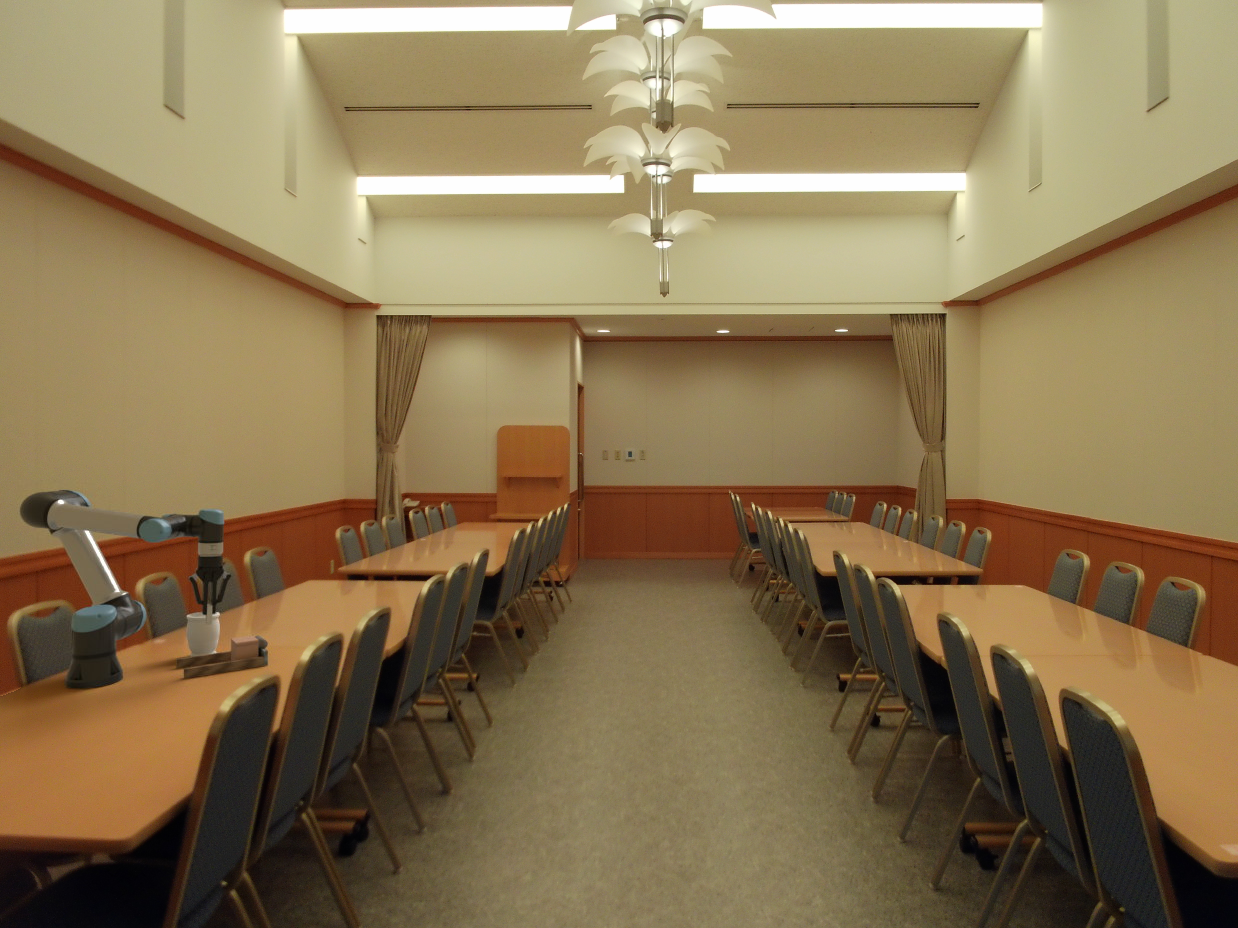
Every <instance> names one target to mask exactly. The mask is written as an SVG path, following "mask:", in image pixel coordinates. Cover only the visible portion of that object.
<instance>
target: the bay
mask: <svg viewBox="0 0 1238 928" xmlns="http://www.w3.org/2000/svg"><path fill="white" fill-rule="evenodd" d="M254 637H255V638H257V639H258V641H259V644H258V657H255V658H249V659H242V660H236V661H231V650H229V651H222V652H221V651H220V652H217V653H213V654H206V655H200V656H193V657H190V656H188V657H181V658H176V669H183V679H190V678H192V679H193V678H196V677H197V678H198V677H203V676H204V677H205V676H209V675H214V674H221V673H226V672H227V673H229V672H233V671H240V670H246V669H251V668H252V669H253V668H259V667H264V666H269V665H268V664H269V660H268V659H269V656H268V655H269V653H268V652H269V651H268V649H266V648H267V647H268V645H269V643H268V641H267V640H266V639H265V638H263V637H262V636H261V635H254Z"/></svg>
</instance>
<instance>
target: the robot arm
mask: <svg viewBox="0 0 1238 928" xmlns="http://www.w3.org/2000/svg"><path fill="white" fill-rule="evenodd" d="M91 505H92V504H91V502H90V500H89V498H87V497H86V495H85V494H83V493H81V492H79V491H77V490H69V489H59V490H53V491H40V492H39V491H38V492H35V493H32V494H30V495H28V496H26V497H25V498H24V500H23V501H22V502H21V504H20V507H19V515H20V518H21V519H22V520H23V522H24V523H25V524H27V525H28V526H30V527H32V528H37V529H48V531H49V533H50V535H51V537H53V538H54V537H55V538H57V539H59V541H60V542H61V544H62V547H63V548H64V549H65V553H66V554H67V556H68V557H69V560H70V561H71V564H72V565H73V567H74V569H75V571H76V573H77V574H78V577H79V579H80V580H81V582H82V584H83V585H84V588H85V590H86V593H88V596H89V598H90V599H91V602H92V605H91V606H87V607H83V608H80V609H79V610H77V611H75V612H73V614H72V616H71V623H70V628H71V662H70V665H69V667H68V670H67V673H66V674H65V679H64V686H65V688H67V689H76V690H77V689H78V690H79V689H91V688H98V687H105V686H107V685H108V686H109V685H111V684H114V683H118V682H120V681H122V680H123V678H124V670H123V668H122V664H120V663H121V662H120V661H119V658H118V655H117V642H118V641H119V640H122V639H124V638H128V637H130V636H133V635H134V634H135V633H137V632H138V631H140V630H141V629H142V628H143V627H144V625H145V623H146V620H147V611H146V608H145V606H144V605H143V603H141V602H140V601H137V600H135V599H133V598H132V596H131V594H130V592H129V591H125V590H122V588H121V587H120V584H119V583H118V581H117V579H116V577H115V575H114V572H113V571H112V570H111V568H110V566H109V564H108V562H107V560H106V558H105V556H104V554H103V552H102V551H101V548H100V547H99V544H98V542H97V541H96V538H95V537H94V535H93V533H100V534H106V535H114V536H119V537H120V536H121V537H129V538H135V539H141V540H143V541H145V542H148V543H151V544H152V543H161V542H165V541H169V540H172V539H178V538H183V537H184V538H185V537H186V538H189V537H190V538H197V543H198V545H197V554H198V556H197V567H196V568H197V569H196V570H195V572H194V574H192V575H188V578H187V579H188V580H189V582H190V583H191V585H192V590H193V593H194V594H193V595H194V598H195V602H196V604H198V605H202V611H201V612H202V613H203V615H206V622H205V623H206V625H212V614H215V613H216V612H217V611H216V610H217V607H216V606H217V605H218V604H220V603H222V602H223V599H224V597H225V596H224V595H225V591H226V589H227V586H228V582H229V580H230V579H231V578H232V574H230V573H227V572H226V571H225V569H224V567H223V566H224V563H223V562H224V556H223V555H222V554H223V553H224V531H225V529H224V528H225V527H224V525H225V518H224V517H225V516H224V515H225V514H224V511H223V510H222V509H218V508H203V509H200V510H199V511H198V514H179V513H172V514H170V513H168V514H164V515H162V516H161V517H158V516H152V515H147V514H146V515H145V514H137V513H134V512H126V511H124V512H123V511H116V510H110V509H104V508H97V507H92V506H91ZM221 577H222V581H221V584H220V586H219V587H220V588H219V590H218V589H217V586H218V581H219V580H220V578H221ZM198 578H199V579H200V581H201V582H202V598H201V595H200V590H199V586H198V583H197V581H198ZM209 583H211V584H210V585H211V586H210V589H211V590H210V603H208V601H209ZM217 590H218V594H217Z"/></svg>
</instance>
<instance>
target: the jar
mask: <svg viewBox="0 0 1238 928" xmlns="http://www.w3.org/2000/svg"><path fill="white" fill-rule="evenodd" d="M220 616H221V613H220V612H219V611H216V613H215V614H212V625H206V623H205V622H206V615H203V613H202V611H200V612H198V611H197V612H193V613H190V614H187V615H186V620H187V624H186V631H185V632H186V640H187V645H188V648H189V650H190V652H191V653H190V654H189V657H193V656H200V655H206V654H213V653H218V652H217V651H216V649H217V647H218V645H219V638H220V633H221V625H220V620H219V617H220Z"/></svg>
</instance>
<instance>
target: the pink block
mask: <svg viewBox="0 0 1238 928" xmlns="http://www.w3.org/2000/svg"><path fill="white" fill-rule="evenodd" d="M258 644H259V641H258V639H257V638H255V635H247V636H246V635H245V636H239V637H233V638H230V651H231V660H230V661H236V660H242V659H249V658H255V657H258Z"/></svg>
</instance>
